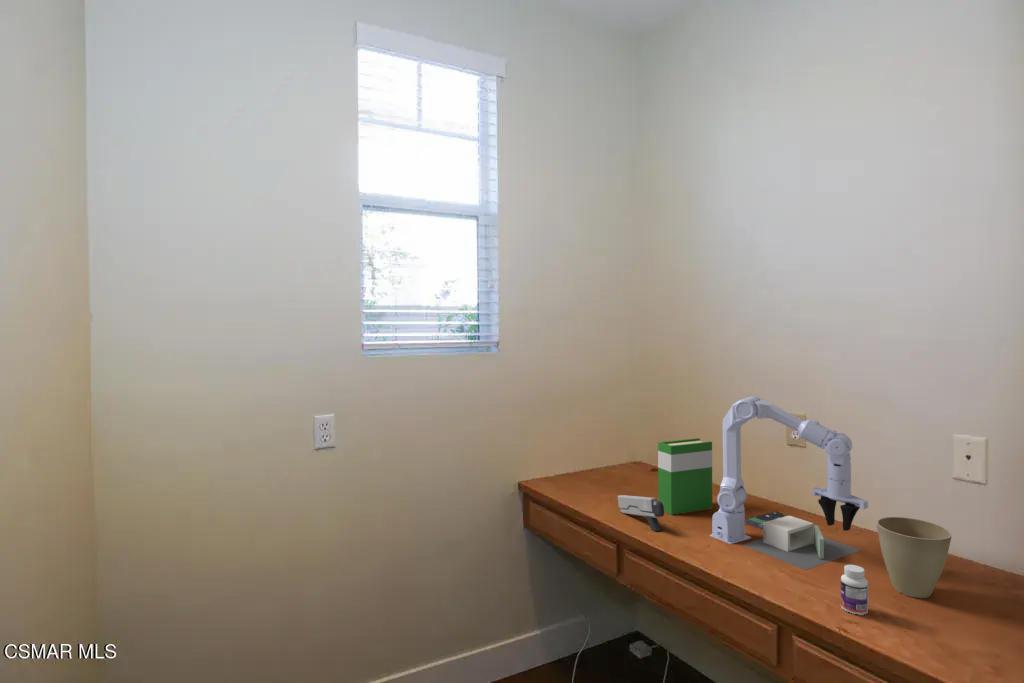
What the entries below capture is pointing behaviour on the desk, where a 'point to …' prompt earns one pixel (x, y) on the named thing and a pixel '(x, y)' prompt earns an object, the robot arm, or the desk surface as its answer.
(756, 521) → the disk drive
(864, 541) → the desk surface
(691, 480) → the hardback book
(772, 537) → the cabinet
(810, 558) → the mat
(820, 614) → the desk surface
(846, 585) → the pill bottle
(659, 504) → the gun
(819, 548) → the cabinet door
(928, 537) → the plant pot
